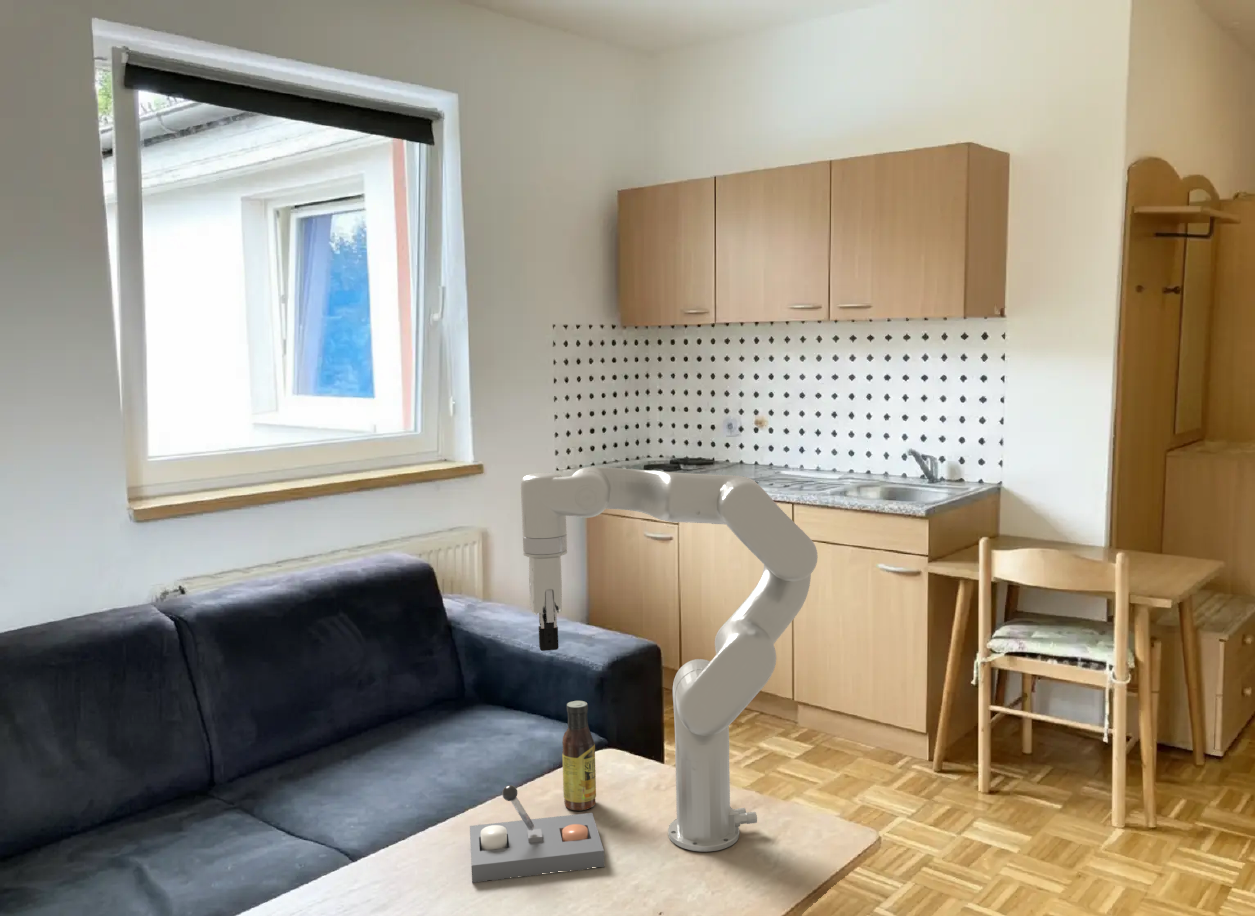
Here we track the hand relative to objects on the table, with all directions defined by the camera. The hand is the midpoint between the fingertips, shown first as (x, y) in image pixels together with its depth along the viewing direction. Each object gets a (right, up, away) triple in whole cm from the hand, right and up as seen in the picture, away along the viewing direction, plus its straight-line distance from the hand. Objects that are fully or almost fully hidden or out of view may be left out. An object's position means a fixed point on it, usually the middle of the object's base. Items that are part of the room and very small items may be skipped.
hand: (548, 648), depth 174 cm
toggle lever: (-2, -32, -1) cm, 32 cm away
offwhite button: (-9, -34, -2) cm, 36 cm away
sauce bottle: (+5, -33, +18) cm, 38 cm away
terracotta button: (+5, -35, +1) cm, 35 cm away
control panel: (-2, -36, -1) cm, 36 cm away
